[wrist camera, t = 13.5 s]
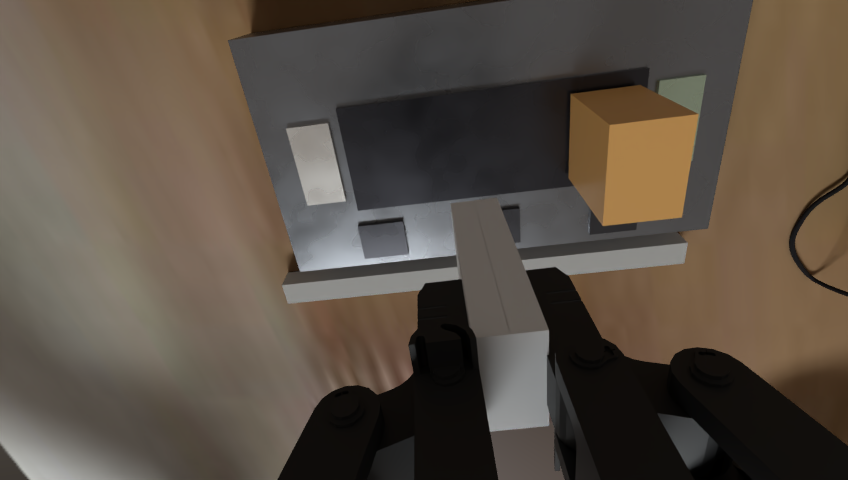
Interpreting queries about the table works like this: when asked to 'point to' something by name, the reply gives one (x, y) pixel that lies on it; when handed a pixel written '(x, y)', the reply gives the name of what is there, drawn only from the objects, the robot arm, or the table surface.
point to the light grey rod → (445, 268)
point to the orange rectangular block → (630, 153)
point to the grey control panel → (472, 116)
